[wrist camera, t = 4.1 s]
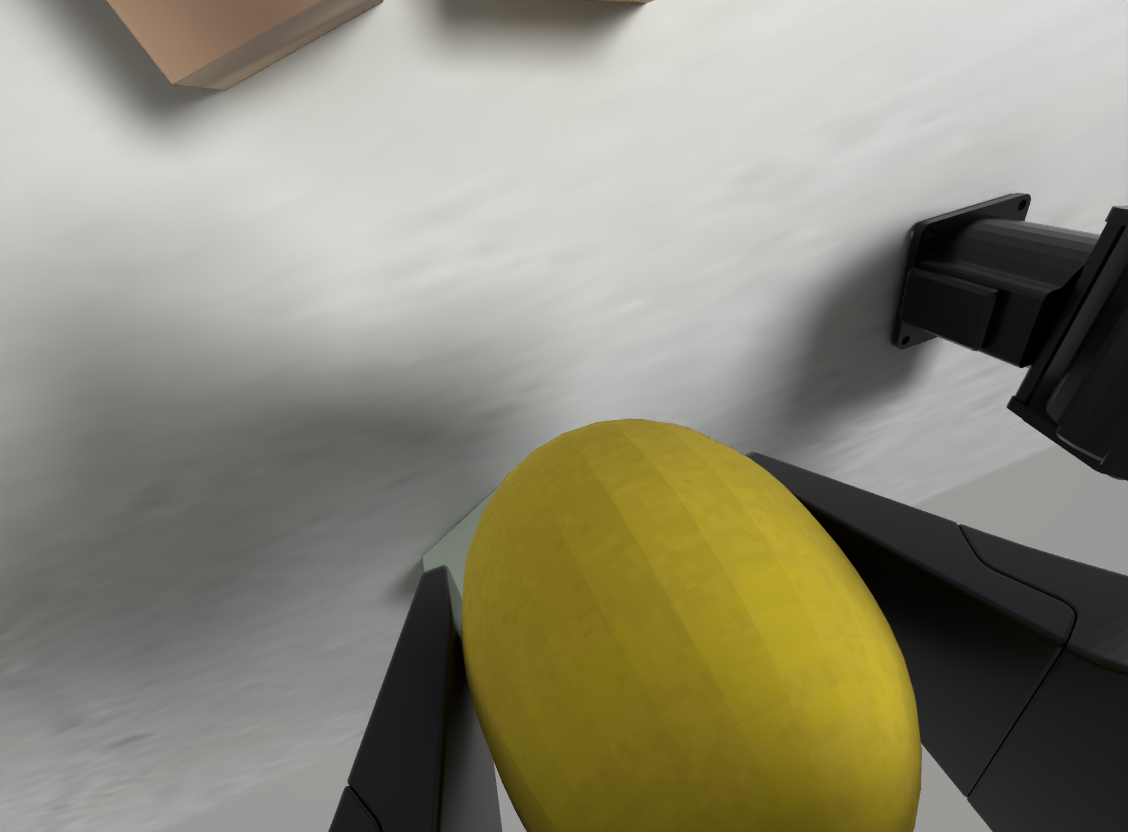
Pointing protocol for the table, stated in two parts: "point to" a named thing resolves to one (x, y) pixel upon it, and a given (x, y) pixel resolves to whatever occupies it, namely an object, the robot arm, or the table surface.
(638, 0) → the oak block
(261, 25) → the walnut block
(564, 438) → the lemon
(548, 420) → the table surface
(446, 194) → the table surface
